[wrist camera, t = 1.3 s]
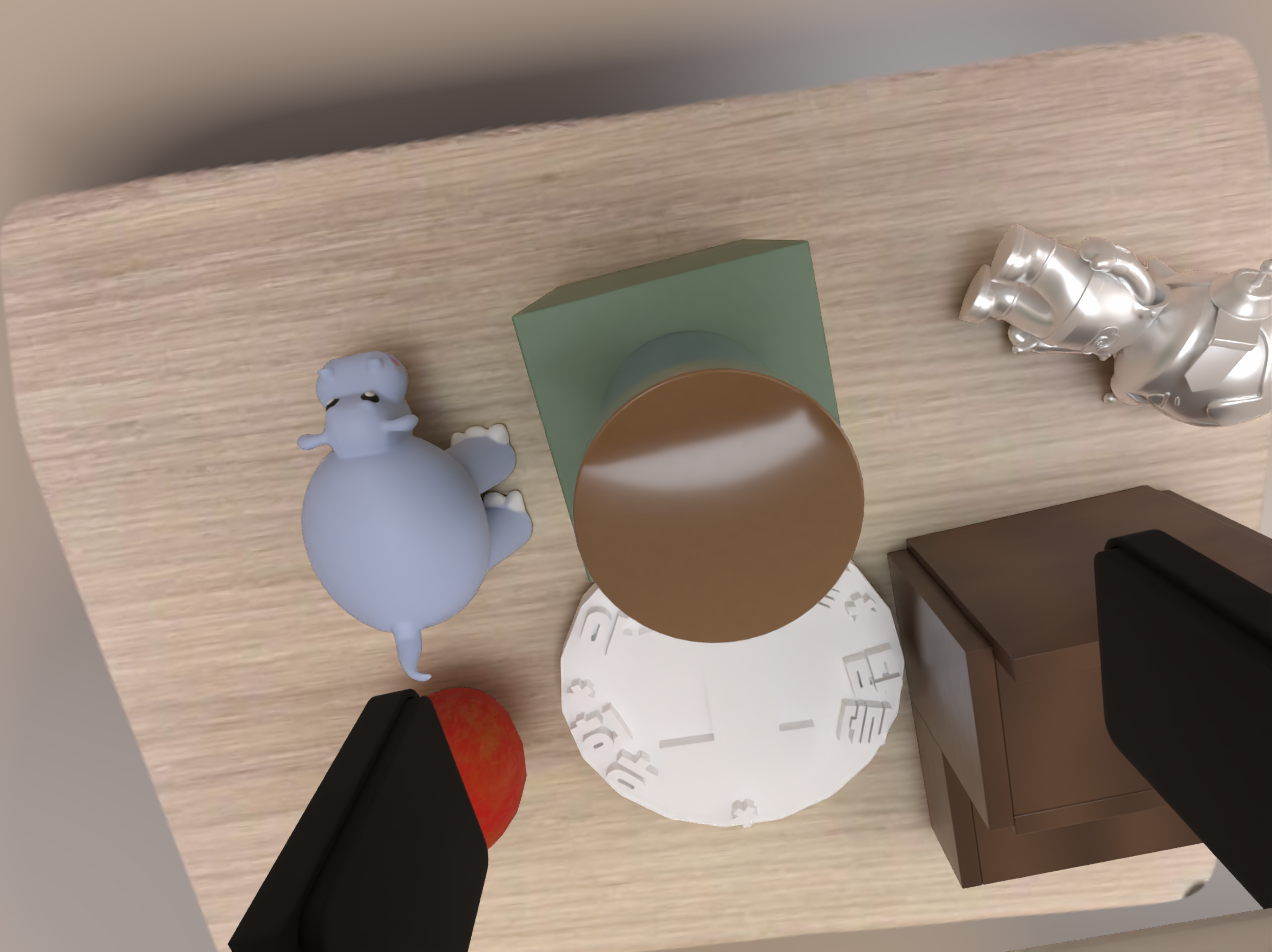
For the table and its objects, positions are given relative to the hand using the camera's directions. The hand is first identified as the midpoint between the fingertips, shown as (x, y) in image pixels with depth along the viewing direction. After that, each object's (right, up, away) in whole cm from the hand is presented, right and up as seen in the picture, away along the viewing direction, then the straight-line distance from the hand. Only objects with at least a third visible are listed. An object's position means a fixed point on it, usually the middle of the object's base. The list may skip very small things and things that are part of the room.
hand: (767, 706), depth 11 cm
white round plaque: (+4, -8, +36) cm, 37 cm away
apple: (-12, -11, +37) cm, 40 cm away
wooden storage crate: (+23, -9, +36) cm, 43 cm away
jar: (0, +5, +16) cm, 17 cm away
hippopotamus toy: (-14, +3, +32) cm, 35 cm away
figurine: (+22, +12, +29) cm, 39 cm away
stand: (0, +9, +30) cm, 32 cm away
